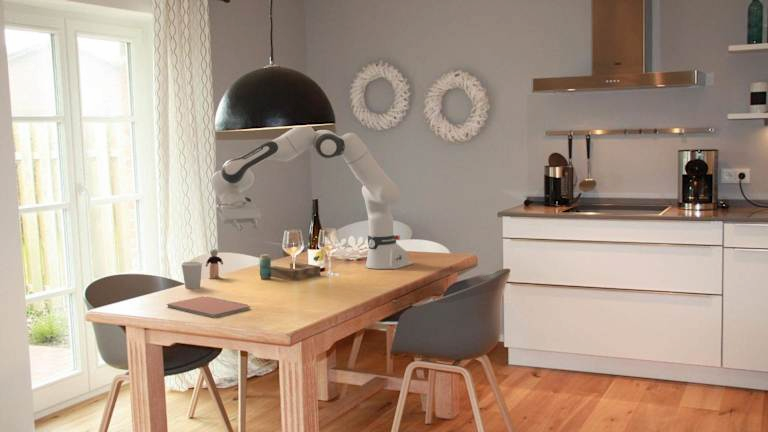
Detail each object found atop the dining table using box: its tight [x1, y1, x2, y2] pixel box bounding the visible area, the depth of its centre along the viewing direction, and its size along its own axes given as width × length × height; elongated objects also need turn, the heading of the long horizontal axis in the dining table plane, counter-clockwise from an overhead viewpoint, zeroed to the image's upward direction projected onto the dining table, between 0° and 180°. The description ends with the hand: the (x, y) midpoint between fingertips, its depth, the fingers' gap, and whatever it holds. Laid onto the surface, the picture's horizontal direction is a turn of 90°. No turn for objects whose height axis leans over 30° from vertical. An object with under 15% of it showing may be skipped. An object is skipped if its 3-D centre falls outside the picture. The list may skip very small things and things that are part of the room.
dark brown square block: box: [270, 261, 321, 282], centre depth 346 cm, size 15×16×4 cm
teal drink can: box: [258, 253, 272, 281], centre depth 340 cm, size 5×5×10 cm
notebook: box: [166, 296, 251, 318], centre depth 288 cm, size 27×17×2 cm, turn 50°
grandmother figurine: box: [204, 247, 224, 280], centre depth 344 cm, size 8×4×13 cm, turn 131°
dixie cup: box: [180, 260, 203, 290], centre depth 324 cm, size 8×8×10 cm
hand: (248, 229), depth 342 cm, fingers open, 8 cm apart
